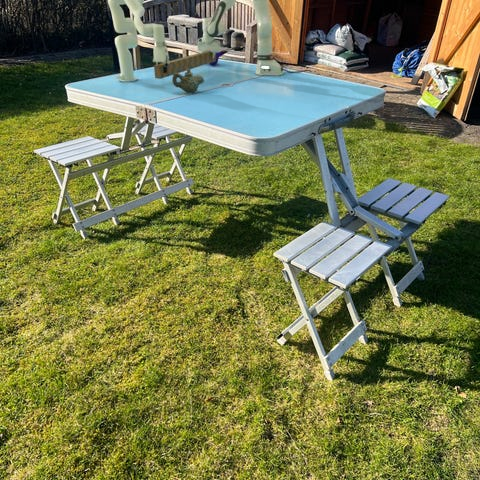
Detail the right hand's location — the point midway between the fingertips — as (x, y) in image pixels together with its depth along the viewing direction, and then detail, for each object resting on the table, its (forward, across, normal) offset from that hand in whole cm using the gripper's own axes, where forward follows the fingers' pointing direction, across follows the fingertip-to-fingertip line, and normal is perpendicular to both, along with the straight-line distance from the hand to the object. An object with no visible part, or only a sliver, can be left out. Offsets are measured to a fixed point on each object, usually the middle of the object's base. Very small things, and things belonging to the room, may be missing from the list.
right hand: (209, 57), depth 366 cm
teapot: (+10, -28, +75) cm, 81 cm away
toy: (+10, +12, -27) cm, 31 cm away
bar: (+4, 0, +32) cm, 33 cm away
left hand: (0, 0, +65) cm, 65 cm away
